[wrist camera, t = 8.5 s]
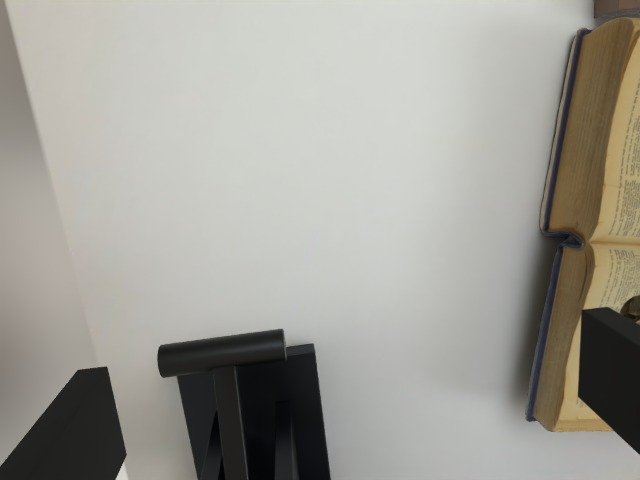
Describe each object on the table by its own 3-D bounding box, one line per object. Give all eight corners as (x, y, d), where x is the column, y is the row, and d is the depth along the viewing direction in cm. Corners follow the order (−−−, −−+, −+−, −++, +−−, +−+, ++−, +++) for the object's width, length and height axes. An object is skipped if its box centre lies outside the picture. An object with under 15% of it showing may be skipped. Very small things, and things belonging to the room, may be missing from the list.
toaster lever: (166, 341, 25) (153, 349, 23) (283, 326, 25) (281, 331, 23) (193, 586, 24) (182, 621, 22) (313, 567, 25) (314, 599, 22)
